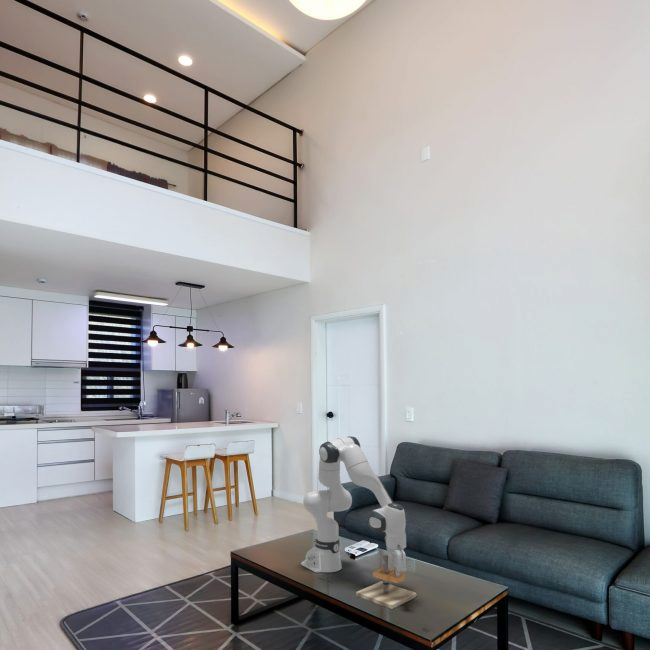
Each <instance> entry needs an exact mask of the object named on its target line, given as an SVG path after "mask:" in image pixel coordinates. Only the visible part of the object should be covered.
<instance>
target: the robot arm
mask: <svg viewBox="0 0 650 650" xmlns="http://www.w3.org/2000/svg"><path fill="white" fill-rule="evenodd" d="M318 454H319V459H318V460H319V461H318V482H319V483H320V484H321V485H323V486H324V487H326V488H328V489H324V490H323V489H320V490H318V489H317V490H313V491H307V492H306V493H305V495H304V498H303V507H304V509H305V510H306V511H307V512H308V513H309V514H310V515H311V516H312V517H313V518H314V520H315V522H316V531H317V532H316V533H317V538H316V539H314V540H313V543H314V544H315V545H314V546H313V547H311V548H310V549H309V550H308V551H307V552H306V555H305V559H304V560H302V561H301V564H300V565H301V566H302V567H304V568H306V569H308V570H310V571H312V572H314V573H335V572H338V571H340V570H341V569H343V566H342V561H341V553H340V552H341V551H340V538H339V536H340V535H339V530H340V529H339V523H338V522H337V521H336V520H335V519H333V518H332V517H329V516H328V513H333V512H334V513H336V512H343V511H347V510H349V509H350V508H351V506H352V505H353V504H352V503H353V498H352V494H351V493H350V491H348V490H347V489H346V488H344V486H343V485H342V482H341V462H343V464H344V467H345V469H346V472H347V474H348V477H349V479H350V481H351V482H352V483H353V484H354V485H356V486H358V487H363V488H366V489H367V490H369V491H371V492H372V493H373V494H374V496H375V498H376V499H377V501H378V503H379V505H380V507H379V508H376V509H373V510H372V511H370V512H369V513H368V515H367V524H368V527H369V528H370V529H371V531H373V532H375V533H382V532H384V533H385V536H384V542H385V545H386V555H387V556H388V560H389V561H390V562H391V563H392V566H393V567H392V568H393V570H394V574H395V575H396V576H397V577H398V576H400V573H401V572H407V556H406V552H405V551H404V549H406V548H407V533H406V525H407V523H406V511H405V509H404V507H403V506H402V505H401V504H398V503H395V502H394V500H393V499H392V497H391V495H390V494H389V491H388V490H387V488H386V486H385V485H384V483H383V482H382V480H381V478H380V477H379V476H378V475H377V474H376V473H375V471H374V470H373V468H372V467H371V465H370V463H369V461H368V458H367V457H366V455H365V452H364V451H363V450H362V448H361V444H360V441H359V439H357V437H355V436H345V437H344V436H343V437H339V438H338V437H337V438H335V439H332V440H330V441H325V442H323V443H322V444H320V446H319V453H318Z"/></svg>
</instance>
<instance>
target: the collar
mask: <svg viewBox="0 0 650 650" xmlns="http://www.w3.org/2000/svg"><path fill="white" fill-rule="evenodd" d="M372 576H373V577H374V578H377V579H379V580H381V581H383V580H385V581H389V582H391V583H395V584H399V583H401V582H403V581H405V580H406V574H404V573H401V572H400V576H398V577H397V576H396V575H395V574H394V569H391V568H388V574H383V567H382V568H379V569H376V570H374V571H373V572H372Z"/></svg>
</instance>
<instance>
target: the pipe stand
mask: <svg viewBox="0 0 650 650" xmlns="http://www.w3.org/2000/svg"><path fill="white" fill-rule="evenodd" d="M382 568H383V574H388V569H389V558H388V555H387V554H384V555H383V554H382ZM355 596H356V597H359V598H360V599H364V600H366V601H369V602H371V603H375V604H378V605H380V606H382V607H385V608H388V609H390V610H393V609H396V608H397V607H399V606H402V605H403V604H405V603H406V602H409V601H411V600H413V599H414V598H417V592H415V591H413V590H409V589H406V588H402V587H399V586H397V585H394V584H390V581H385V580H380V581H378V582H376V583H374V584H372V585H371V584H370V585H369V586H367V587H365V588H363V589H362V588H361V589H360V590H358V591H356V592H355Z"/></svg>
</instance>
